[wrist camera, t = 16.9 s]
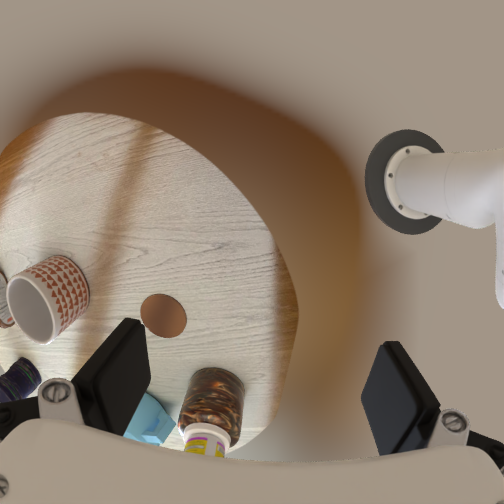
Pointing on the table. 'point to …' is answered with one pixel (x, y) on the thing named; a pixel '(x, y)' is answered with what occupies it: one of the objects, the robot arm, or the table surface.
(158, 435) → the teapot
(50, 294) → the planter
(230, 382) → the jar
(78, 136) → the table surface
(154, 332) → the brown coaster
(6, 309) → the tin
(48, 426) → the robot arm
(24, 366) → the storage jar
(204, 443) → the supplement bottle
